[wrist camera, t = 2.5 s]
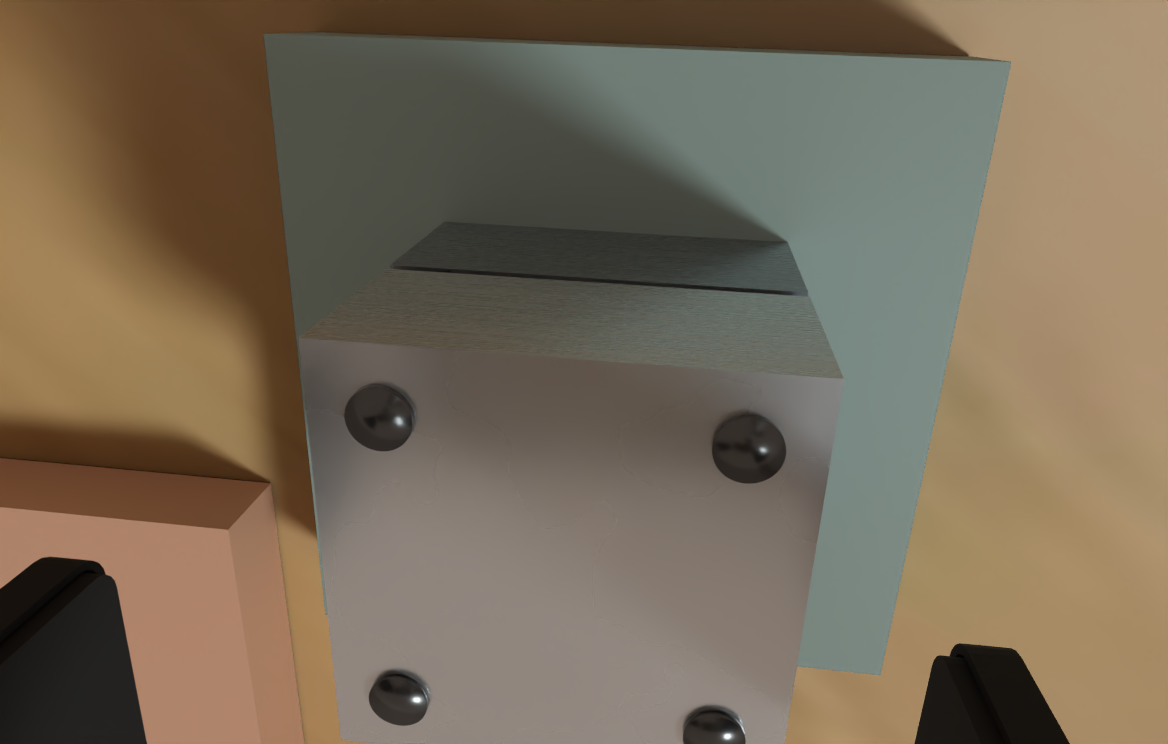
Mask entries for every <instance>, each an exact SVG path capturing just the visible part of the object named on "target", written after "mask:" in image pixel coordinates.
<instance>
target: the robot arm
mask: <svg viewBox="0 0 1168 744" xmlns="http://www.w3.org/2000/svg"><path fill="white" fill-rule="evenodd" d="M0 744H147V741H146V736H145V731H144V725H143V720H142V715H141V710H140V705H139V699H138V694H137V689H136V684H135V679H134V673H133V668H132V663H131V658H130V653H129V647H128V642H127V637H126V632H125V626H124V621H123V616H122V611H121V606H120V600H119V595H118V590H117V586H116V583H115V580H114V579H113V578H112V577H111V576H109V575H106V573H105V571H104V568H103V567H102V566H101V565H100V564H99V563H98V562H95V561H92V560H81V559H71V558H60V557H44V558H41V559H39V560H37V561H35V562H34V563H32V564H31V565H30V566H29V567H27V568H26V569H25V570H24V571H22V572H21V573H20V574H18V575H17V576H16V577H15V578H13V579H12V580H11V581H10V582H8V583H7V584H6V585H5V586H3V587H2V588H1V589H0ZM915 744H1070V743H1069V742H1068V740H1067V738H1066V736H1065V734H1064V733H1063V731H1062V729H1061V727H1060V725H1059V724H1058V722H1057V720H1056V718H1055V717H1054V715H1053V713H1052V711H1051V709H1050V708H1049V706H1048V704H1047V702H1046V701H1045V699H1044V697H1043V695H1042V693H1041V692H1040V690H1039V688H1038V686H1037V685H1036V683H1035V681H1034V679H1033V677H1032V676H1031V674H1030V672H1029V670H1028V669H1027V667H1026V665H1025V663H1024V661H1023V660H1022V658H1021V657H1020V655H1019V654H1018V653H1017V651H1015V650H1013V649H1011V648H1002V647H992V646H981V645H971V644H957V645H955V646H954V648H953V649H952V651H951V654H950V656H937V657H936V658H935V660H934V662H933V665H932V669H931V673H930V678H929V682H928V687H927V691H926V695H925V700H924V704H923V709H922V713H921V718H920V722H919V726H918V731H917V735H916V740H915Z"/></svg>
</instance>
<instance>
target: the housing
mask: <svg viewBox="0 0 1168 744" xmlns="http://www.w3.org/2000/svg"><path fill="white" fill-rule="evenodd" d="M299 346H300V356H301V365H302V375H303V384H304V394H305V403H306V412H307V422H308V431H309V441H310V450H311V460H312V469H313V479H314V488H315V498H316V507H317V517H318V526H319V536H320V545H321V555H322V564H323V574H324V583H325V593H326V602H327V611H328V621H329V630H330V640H331V649H332V659H333V668H334V678H335V687H336V697H337V706H338V716H339V725H340V735H341V740H348V741H356V742H364V743H372V744H784V742H785V736H786V729H787V723H788V717H789V711H790V705H791V699H792V693H793V687H794V681H795V675H796V668H797V662H798V656H799V650H800V644H801V638H802V632H803V626H804V620H805V614H806V608H807V601H808V595H809V589H810V583H811V577H812V571H813V565H814V559H815V553H816V547H817V540H818V534H819V528H820V522H821V516H822V510H823V504H824V498H825V492H826V486H827V479H828V473H829V467H830V461H831V455H832V449H833V443H834V437H835V431H836V425H837V418H838V412H839V406H840V400H841V394H842V388H843V382H844V378H843V376H842V373H841V371H840V368H839V366H838V363H837V361H836V359H835V356H834V354H833V351H832V349H831V346H830V344H829V341H828V339H827V337H826V334H825V332H824V329H823V327H822V324H821V322H820V320H819V317H818V315H817V312H816V310H815V307H814V305H813V302H812V300H811V298H810V297H808V290H807V288H806V285H805V283H804V281H803V278H802V276H801V273H800V271H799V268H798V266H797V263H796V261H795V259H794V256H793V254H792V251H791V249H790V246H789V244H788V242H777V241H760V240H743V239H727V238H710V237H693V236H677V235H660V234H643V233H626V232H610V231H593V230H576V229H560V228H543V227H526V226H510V225H493V224H476V223H459V222H443V223H442V224H441V225H439V226H438V227H437V228H436V229H434V230H433V231H432V232H431V233H429V234H428V235H427V236H426V237H424V238H423V239H422V240H421V241H419V242H418V243H417V244H416V245H414V246H413V247H412V248H411V249H409V250H408V251H407V252H406V253H404V254H403V255H402V256H401V257H399V258H398V259H397V260H396V261H394V262H393V263H392V264H391V265H390V269H384V270H383V271H382V272H381V273H379V274H378V275H377V276H376V277H374V278H373V279H372V280H371V281H369V282H368V283H367V284H366V285H364V286H363V287H362V288H361V289H359V290H358V291H357V292H356V293H354V294H353V295H352V296H351V297H349V298H348V299H347V300H346V301H344V302H343V303H342V304H341V305H339V306H338V307H337V308H336V309H334V310H333V311H332V312H331V313H329V314H328V315H327V316H326V317H324V318H323V319H322V320H321V321H319V322H318V323H317V324H316V325H314V326H313V327H312V328H311V329H309V330H308V331H307V332H306V333H304V334H303V335H302V336H301V337H299Z"/></svg>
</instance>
